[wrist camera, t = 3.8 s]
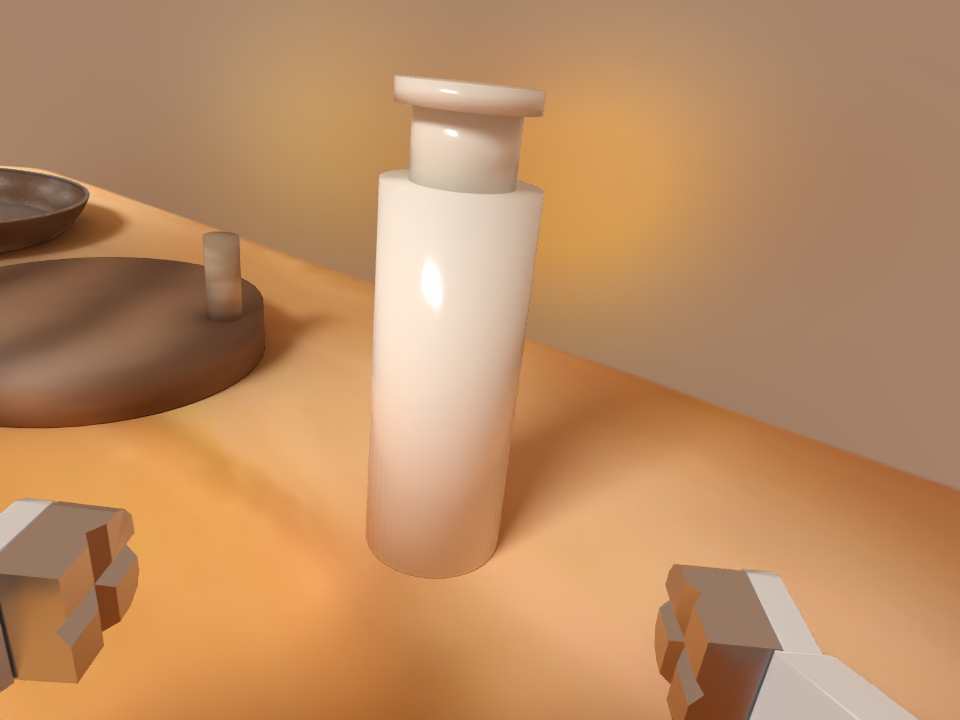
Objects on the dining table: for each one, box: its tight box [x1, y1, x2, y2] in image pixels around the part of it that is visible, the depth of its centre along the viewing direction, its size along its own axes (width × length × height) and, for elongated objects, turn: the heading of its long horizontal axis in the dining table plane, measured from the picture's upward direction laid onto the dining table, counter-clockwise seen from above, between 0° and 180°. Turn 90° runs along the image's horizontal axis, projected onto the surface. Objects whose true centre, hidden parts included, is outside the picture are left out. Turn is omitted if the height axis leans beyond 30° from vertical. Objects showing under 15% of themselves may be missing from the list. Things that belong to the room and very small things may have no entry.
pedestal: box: [0, 232, 265, 428], centre depth 33 cm, size 16×16×6 cm
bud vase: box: [366, 76, 546, 578], centre depth 21 cm, size 5×5×15 cm
